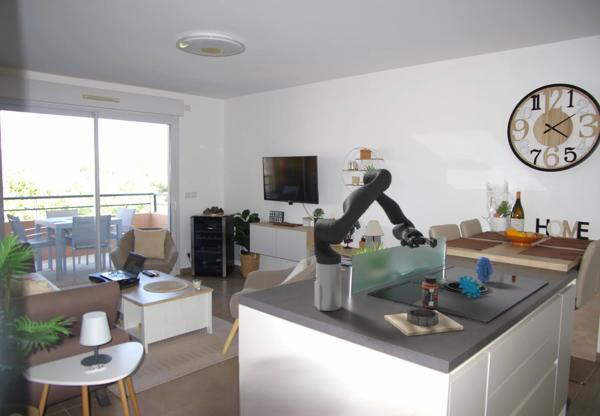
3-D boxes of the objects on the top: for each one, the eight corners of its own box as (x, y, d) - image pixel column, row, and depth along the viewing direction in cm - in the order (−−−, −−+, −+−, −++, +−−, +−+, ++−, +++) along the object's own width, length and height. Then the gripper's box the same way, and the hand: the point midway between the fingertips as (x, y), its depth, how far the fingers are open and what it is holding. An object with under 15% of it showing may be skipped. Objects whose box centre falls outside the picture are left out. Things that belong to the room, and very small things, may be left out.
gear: (466, 296, 167) (456, 274, 173) (457, 303, 171) (448, 281, 177) (488, 296, 171) (478, 275, 177) (479, 304, 175) (469, 282, 181)
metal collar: (416, 327, 137) (417, 320, 136) (401, 317, 146) (401, 310, 146) (444, 324, 139) (444, 317, 139) (427, 314, 149) (427, 307, 149)
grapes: (486, 287, 185) (487, 259, 183) (471, 283, 190) (472, 257, 189) (499, 282, 192) (500, 256, 191) (484, 279, 197) (485, 253, 196)
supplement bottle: (435, 309, 156) (436, 279, 155) (419, 307, 159) (420, 277, 158) (439, 305, 161) (440, 276, 160) (424, 302, 164) (424, 273, 163)
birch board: (407, 336, 133) (407, 333, 133) (384, 318, 148) (384, 315, 148) (463, 329, 138) (463, 326, 138) (435, 312, 153) (435, 310, 153)
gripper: (396, 229, 184) (405, 236, 168) (429, 228, 184) (441, 236, 168) (396, 246, 185) (405, 255, 169) (428, 245, 185) (440, 254, 169)
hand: (423, 245), depth 169 cm, fingers open, 8 cm apart
